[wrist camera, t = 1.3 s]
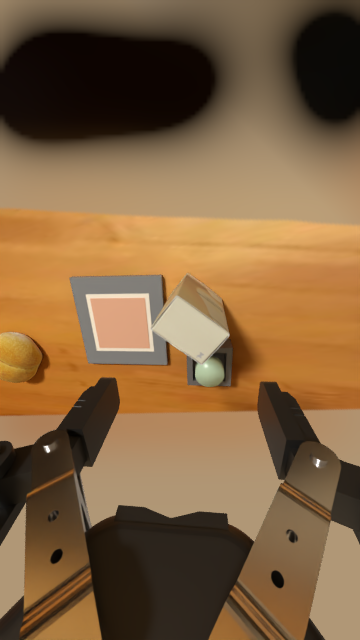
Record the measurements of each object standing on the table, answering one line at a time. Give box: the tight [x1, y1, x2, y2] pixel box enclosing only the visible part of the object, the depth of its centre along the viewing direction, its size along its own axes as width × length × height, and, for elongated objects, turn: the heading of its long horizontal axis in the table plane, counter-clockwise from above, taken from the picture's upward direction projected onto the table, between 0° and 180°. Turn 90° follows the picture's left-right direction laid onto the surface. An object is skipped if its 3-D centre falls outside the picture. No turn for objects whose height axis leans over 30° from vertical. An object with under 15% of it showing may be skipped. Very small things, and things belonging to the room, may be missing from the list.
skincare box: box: [151, 273, 230, 365], centre depth 25 cm, size 6×4×12 cm
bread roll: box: [0, 332, 42, 383], centre depth 36 cm, size 8×9×4 cm
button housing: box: [187, 339, 233, 386], centre depth 33 cm, size 6×6×3 cm
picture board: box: [70, 275, 168, 365], centre depth 33 cm, size 13×14×1 cm
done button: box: [195, 356, 224, 387], centre depth 31 cm, size 4×4×2 cm
